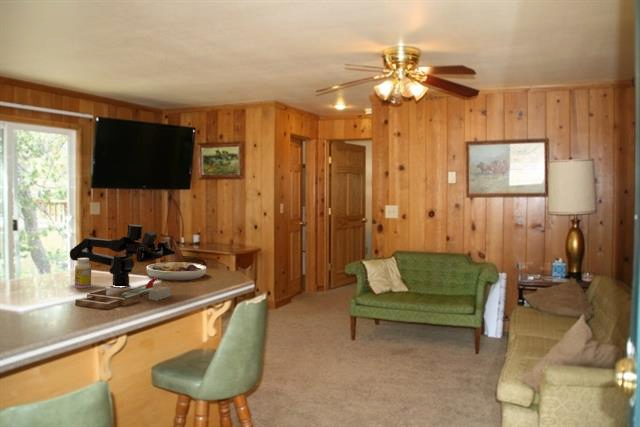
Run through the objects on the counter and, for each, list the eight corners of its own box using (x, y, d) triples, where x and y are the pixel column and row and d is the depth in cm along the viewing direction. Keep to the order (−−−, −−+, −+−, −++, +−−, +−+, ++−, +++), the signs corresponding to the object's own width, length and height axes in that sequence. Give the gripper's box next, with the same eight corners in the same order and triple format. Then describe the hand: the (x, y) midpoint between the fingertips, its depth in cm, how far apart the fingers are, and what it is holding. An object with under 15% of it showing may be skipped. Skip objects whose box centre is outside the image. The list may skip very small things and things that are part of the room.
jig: (72, 304, 200) (72, 296, 200) (103, 296, 216) (103, 288, 216) (110, 309, 194) (110, 301, 194) (139, 301, 211) (139, 293, 210)
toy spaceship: (138, 305, 212) (138, 293, 211) (113, 303, 214) (113, 290, 213) (169, 288, 239) (169, 277, 238) (146, 286, 241) (146, 275, 240)
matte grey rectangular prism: (148, 299, 214) (148, 290, 214) (161, 295, 223) (162, 286, 223) (156, 300, 213) (157, 291, 213) (169, 296, 222) (169, 287, 222)
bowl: (134, 275, 266) (134, 260, 266) (180, 269, 291) (180, 255, 290) (172, 284, 249) (172, 268, 249) (217, 277, 274) (218, 262, 273)
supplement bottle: (72, 286, 232) (73, 257, 232) (88, 285, 237) (88, 257, 236) (77, 289, 227) (77, 259, 226) (92, 287, 232) (93, 259, 231)
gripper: (125, 234, 222) (156, 240, 217) (153, 228, 240) (182, 233, 235) (124, 259, 224) (154, 265, 219) (152, 251, 241) (180, 257, 236)
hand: (168, 254), depth 227 cm, fingers open, 9 cm apart
